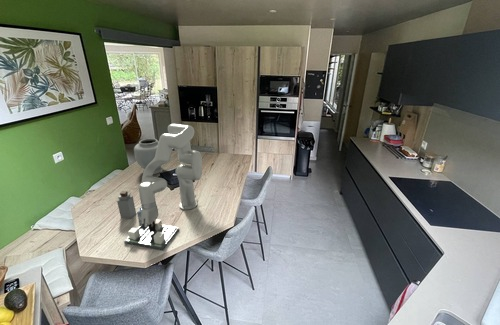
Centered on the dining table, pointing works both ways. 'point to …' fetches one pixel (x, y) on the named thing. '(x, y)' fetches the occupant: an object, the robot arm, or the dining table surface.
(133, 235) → the block
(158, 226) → the block
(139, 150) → the ceramic vase
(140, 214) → the label tape box
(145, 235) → the panel
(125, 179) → the dining table surface
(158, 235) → the breaker high
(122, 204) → the perfume bottle
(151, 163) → the robot arm
